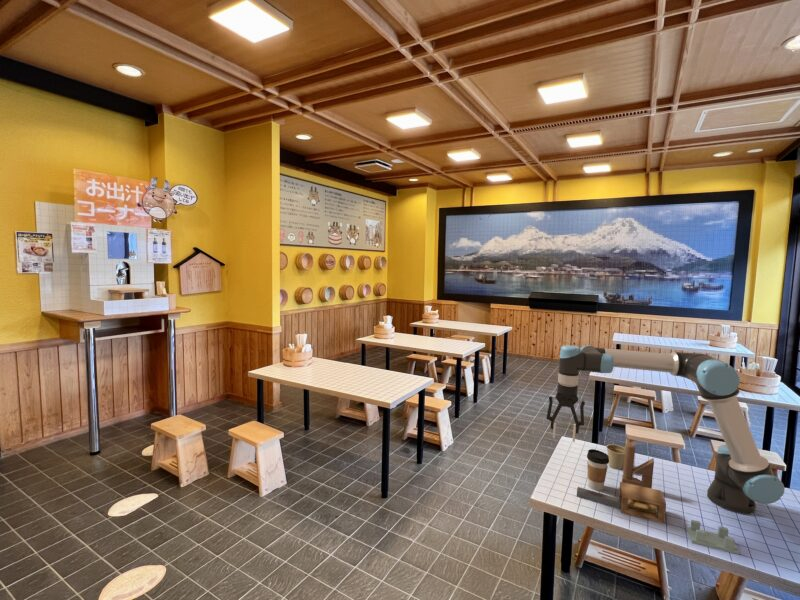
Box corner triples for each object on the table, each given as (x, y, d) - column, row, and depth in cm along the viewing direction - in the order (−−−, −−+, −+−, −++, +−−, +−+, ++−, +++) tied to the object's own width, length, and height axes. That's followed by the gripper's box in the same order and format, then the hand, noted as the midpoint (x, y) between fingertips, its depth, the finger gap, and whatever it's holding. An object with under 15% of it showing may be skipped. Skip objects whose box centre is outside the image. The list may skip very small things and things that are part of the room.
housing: (658, 508, 155) (660, 490, 155) (664, 523, 147) (666, 503, 146) (618, 499, 161) (620, 481, 160) (621, 512, 152) (622, 493, 152)
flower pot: (627, 465, 189) (629, 447, 189) (626, 473, 181) (628, 455, 181) (605, 459, 194) (607, 442, 194) (603, 467, 186) (605, 450, 186)
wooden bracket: (651, 494, 166) (655, 452, 164) (621, 486, 171) (625, 445, 169) (650, 489, 169) (654, 449, 167) (621, 482, 174) (625, 442, 173)
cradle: (729, 539, 139) (731, 528, 139) (738, 554, 132) (740, 542, 131) (685, 528, 144) (686, 517, 144) (691, 542, 137) (692, 531, 136)
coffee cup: (587, 479, 176) (590, 446, 174) (608, 486, 170) (611, 453, 169) (582, 487, 169) (584, 453, 168) (604, 495, 164) (607, 460, 162)
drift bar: (624, 507, 156) (624, 500, 156) (624, 511, 154) (624, 504, 154) (577, 493, 165) (577, 486, 165) (576, 497, 162) (577, 490, 162)
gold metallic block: (653, 512, 154) (654, 498, 155) (656, 517, 150) (657, 503, 150) (624, 505, 158) (625, 492, 158) (626, 510, 154) (627, 496, 154)
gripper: (594, 385, 160) (589, 439, 163) (542, 378, 168) (538, 430, 170) (595, 390, 153) (590, 447, 156) (541, 382, 161) (537, 437, 163)
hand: (563, 438), depth 163 cm, fingers open, 7 cm apart
